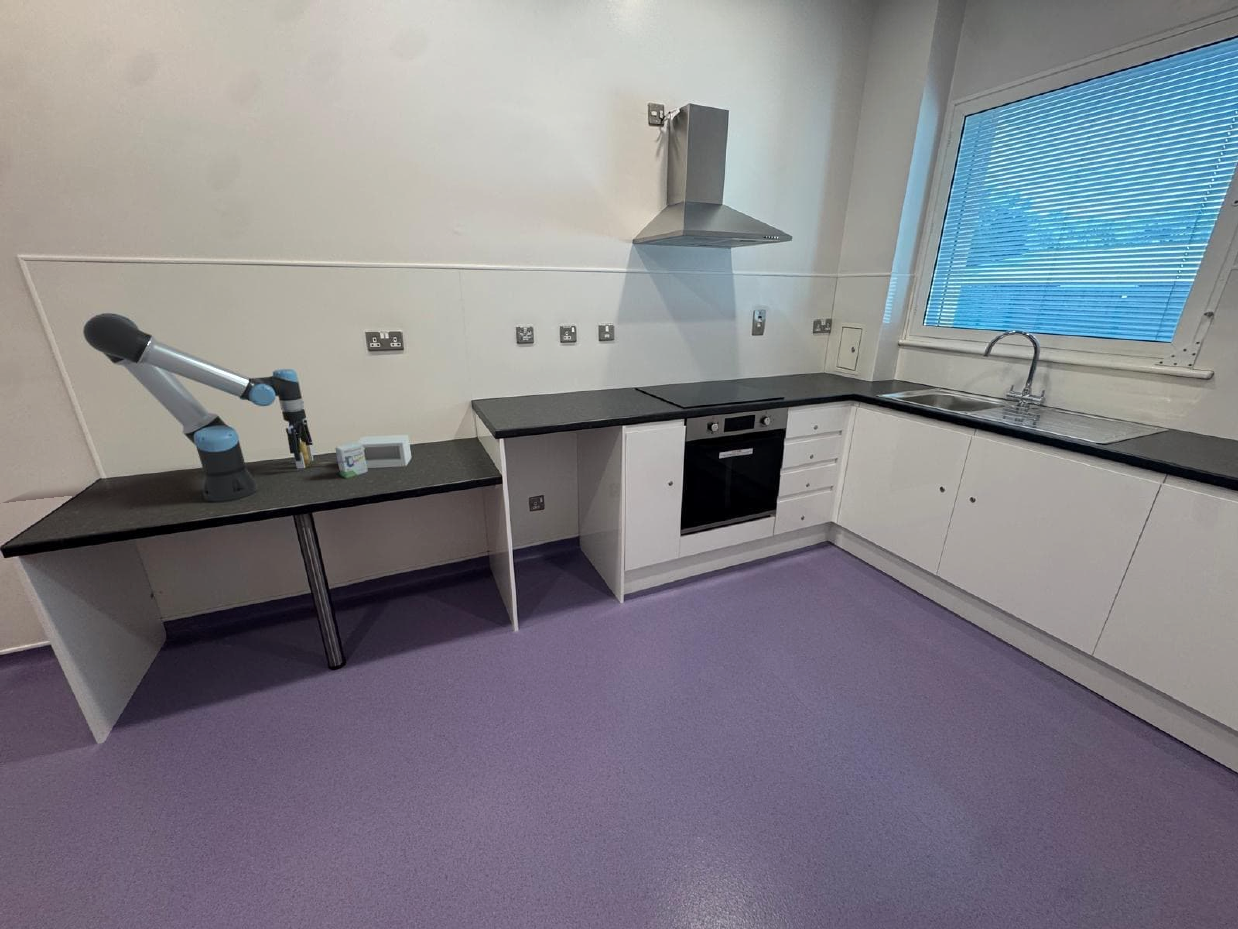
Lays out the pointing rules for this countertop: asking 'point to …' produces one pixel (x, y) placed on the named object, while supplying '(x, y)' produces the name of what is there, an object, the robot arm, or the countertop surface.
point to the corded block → (306, 458)
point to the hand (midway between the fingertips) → (305, 464)
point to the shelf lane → (386, 450)
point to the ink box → (351, 459)
